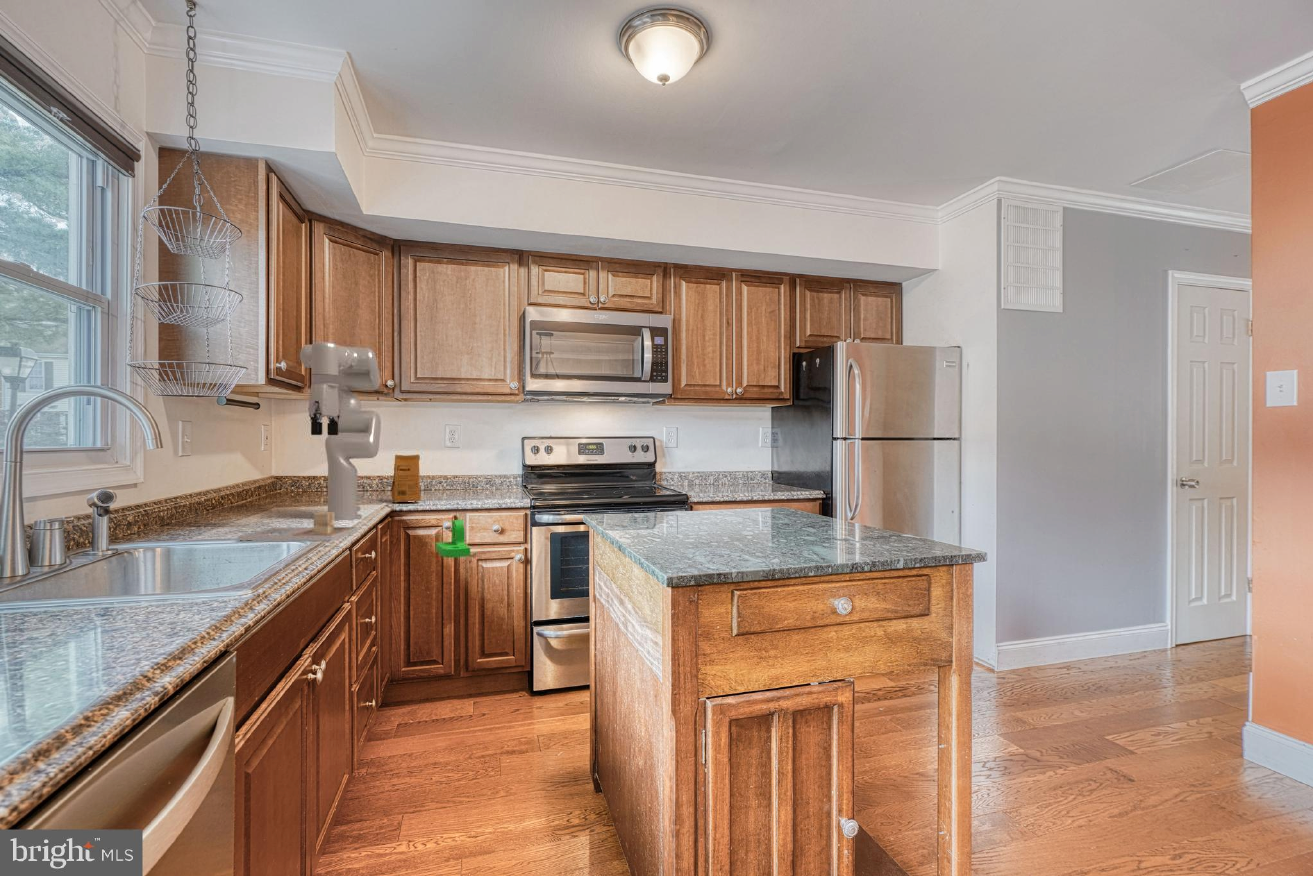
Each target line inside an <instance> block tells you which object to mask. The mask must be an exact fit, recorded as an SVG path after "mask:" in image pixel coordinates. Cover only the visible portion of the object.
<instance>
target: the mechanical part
mask: <svg viewBox="0 0 1313 876" xmlns="http://www.w3.org/2000/svg"><path fill="white" fill-rule="evenodd" d="M465 543H466V542H465V525H464V521H463V519H453V520H452V523H451V541H445V542H444V541H442V542H435V551H436V552H437V553H438V554H439V555H441V556H442V557H444V558H453V559H454V558H464V557H470V556H471V547H470V546H468V545H467V544H465Z"/></svg>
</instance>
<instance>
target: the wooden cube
mask: <svg viewBox="0 0 1313 876" xmlns="http://www.w3.org/2000/svg"><path fill="white" fill-rule="evenodd" d="M313 527H314V534H325V533H332V532H334V527H335V521H334V512H328V511H327V512H326V511H321V512H317V513H313Z"/></svg>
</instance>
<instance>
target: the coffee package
mask: <svg viewBox="0 0 1313 876" xmlns="http://www.w3.org/2000/svg"><path fill="white" fill-rule="evenodd" d="M420 460H421V456H420V454H408V455H406V454H405V455H403V454H402V455H401V454H395V455H394V463H393V465H394V467H393V479H392V483H391V491H390V492H391V502H408V501H419V502H420V501H421V497H422V496H421V487H420Z"/></svg>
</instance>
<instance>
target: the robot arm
mask: <svg viewBox="0 0 1313 876" xmlns="http://www.w3.org/2000/svg"><path fill="white" fill-rule="evenodd" d="M299 358H300V361H301V364H302V366H304V367H306V368H308V369H310V368H311V380H310V381H311V385H310V390H309V396H308V397H309V399H308V407H307V410H308V416H309V418H310V420H309V421H310V435H311V436H322V435H323V422H322V420H323V418H324V417H325V418H327V421H328V422H327V428H326V429H327V437H326V438H325V441H324V442H325V443H324V448H325V454H326V460H327V512H334V522H340V521H339V520H348V521H355V520H354V519H357V520H360V518H361V519H362V518H363V515H362V514H359V513H358V512H359V511H361V506H359V505H358V470H357V467H356V466H355V465H354V464H353V462H351V460H353V459H362V460H363V459H373V458H375V457H376V456H377V455H378V453H379V448H380V439H381V428H382V426H381V424H382V422H381V420H382V419H381V416H380V414H379V413H378V412H377V411H375V410H367V409H366V410H362V402H361V401H360V399H359V398H358V396H356V394H355V393H353V392H351V391H375V390H378V388H380V385H381V375H380V371H379V370H380V369H379V365H378V360H377V356H376V353H375V352H374V350H372V349H371V348H370V347H360V346H359V347H357V346H355V347H354V346H343V345H337V344H336V343H334V342H330V341H315V342H313V343H312V344H305V345H303V346H302V348H301V349H300V353H299Z"/></svg>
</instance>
